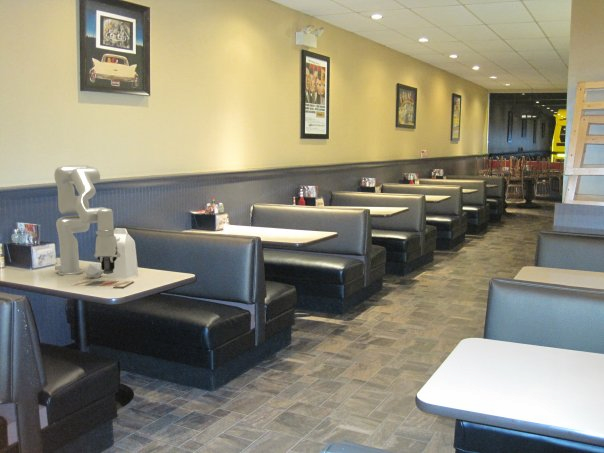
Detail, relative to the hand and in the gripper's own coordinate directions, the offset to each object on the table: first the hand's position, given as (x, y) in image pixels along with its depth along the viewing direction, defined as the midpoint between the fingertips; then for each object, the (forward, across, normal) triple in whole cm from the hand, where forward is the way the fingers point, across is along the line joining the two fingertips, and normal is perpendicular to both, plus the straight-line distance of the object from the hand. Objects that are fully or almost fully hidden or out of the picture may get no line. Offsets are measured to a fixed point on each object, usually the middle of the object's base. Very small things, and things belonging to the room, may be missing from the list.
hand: (108, 269), depth 299 cm
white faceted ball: (+8, -15, +14) cm, 22 cm away
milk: (+8, -2, +20) cm, 22 cm away
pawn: (+2, 0, 0) cm, 2 cm away
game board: (+8, -4, 0) cm, 9 cm away
